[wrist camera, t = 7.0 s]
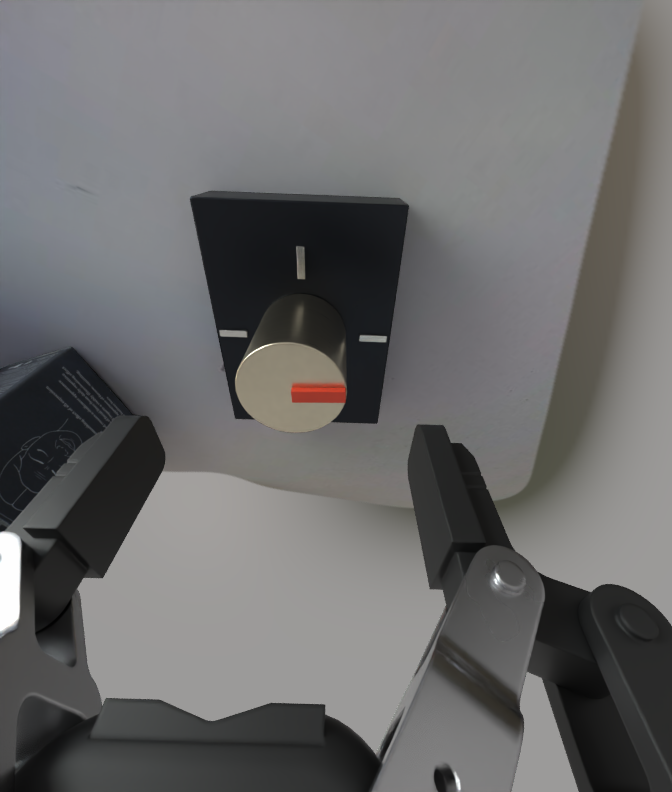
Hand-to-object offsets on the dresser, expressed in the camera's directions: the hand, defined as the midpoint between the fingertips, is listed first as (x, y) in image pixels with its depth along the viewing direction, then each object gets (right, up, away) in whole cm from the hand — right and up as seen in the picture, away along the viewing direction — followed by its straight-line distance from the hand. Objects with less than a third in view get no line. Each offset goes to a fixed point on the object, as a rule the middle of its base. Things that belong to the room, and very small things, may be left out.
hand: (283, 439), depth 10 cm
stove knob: (0, +5, +7) cm, 8 cm away
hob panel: (0, +6, +9) cm, 11 cm away
